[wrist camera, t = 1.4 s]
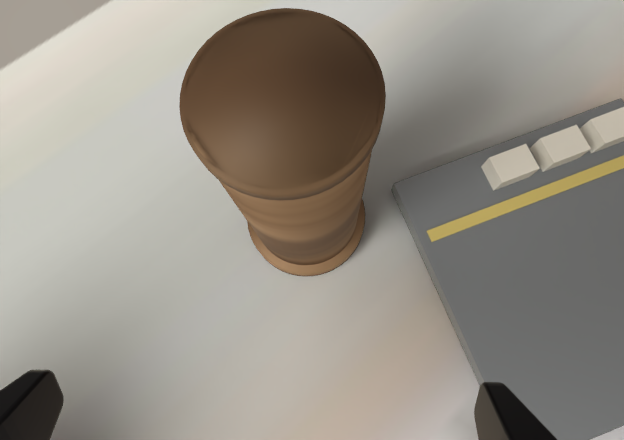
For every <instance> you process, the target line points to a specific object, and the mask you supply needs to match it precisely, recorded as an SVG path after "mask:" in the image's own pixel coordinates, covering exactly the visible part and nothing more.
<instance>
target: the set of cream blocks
mask: <svg viewBox="0 0 624 440" xmlns="http://www.w3.org/2000/svg"><path fill="white" fill-rule="evenodd" d="M623 141H624V107H622V108H619V109H617V110H614V111H611V112H609V113H606V114H603V115H601V116H598V117H595V118H593V119H590V120H589V121H588V122H587V123H586V124H584V125H583V126H582V127H581V128H580V129H579V128H578V126H577V125H574V126H571V127H569V128H566V129H563V130H561V131H558V132H556V133H553V134H550V135H548V136H545V137H542V138H540V139H539V140H538V141H537V142H536V143H535V144H534V145H533V146H532V147H531V148H530V150H531V152H532V153H531V152H530V150H529V148H528V146H527V144H524V145H521V146H518V147H516V148H513V149H510V150H508V151H505V152H502V153H500V154H497V155H495V156H492V157H489V158H488V159H487V160H486V162H485V163H484V164H483V165H482V166H481V168H482V170H483V172H484V174H485V175H486V177H487V179H488V181H489V183H490V185H491V187H492V189H493V191H494V190H497V189H500V188H502V187H505V186H507V185H510V184H513V183H515V182H518V181H521V180H523V179H526V178H528V177H530V176H531V175H533V174H534V173H535V172H536V171H537V170H539V169H540V168H541V170H542V172H544V171H547V170H549V169H552V168H555V167H557V166H560V165H562V164H565V163H568V162H570V161H573V160H576V159H578V158H580V157H581V156H582V155H584V154H585V153H586V152H588V151H590V152H591V153H594V152H597V151H599V150H602V149H604V148H607V147H610V146H612V145H615V144H618V143H620V142H623ZM532 154H533V155H532ZM533 156H534V157H535V159H536V161H537V162H536V161H535V159H534V157H533ZM537 163H538V164H537ZM538 165H539V166H540V168H539V166H538Z"/></svg>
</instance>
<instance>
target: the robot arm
mask: <svg viewBox="0 0 624 440" xmlns="http://www.w3.org/2000/svg"><path fill="white" fill-rule="evenodd" d="M62 406H63V394H62V391H61V389H60V387H59V384H58V382H57V380H56V377H55V375H54V373H53V372H52V371H50V370H30V371H28V372H27V373H25V374H24V375H22V376H21V377H19V378H18V379H16V380H15V381H14V382H12V383H11V384H9V385H8V386H6V387H5V388H3V389H2V390H1V391H0V440H50V438H51V435H52V432H53V430H54V427H55V425H56V422H57V419H58V417H59V414H60V412H61V409H62ZM474 415H475V422H476V428H477V433H478V438H479V440H557V439H556V437H555V436H554V435H553V434H552V433H551V432H550V431H549V430H548V429H547V428H546V427H545V426H544V425H543V424H542V423H541V422H540V421H539V420H538V419H537V417H536V416H535V415H534V414H533V413H532V412H531V411H530V410H529V409H528V408H527V407H526V406H525V405H524V404H523V403H522V402H521V401H520V400H519V399H518V398H517V396H516V395H515V394H514V393H513V392H512V391H511V390H510V389H509V388H508V387H507V386H506V385H505V384H503V383H501V382H483V383H482V384H481V386H480V389H479V393H478V397H477V401H476V405H475V411H474Z"/></svg>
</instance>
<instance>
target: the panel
mask: <svg viewBox="0 0 624 440" xmlns="http://www.w3.org/2000/svg"><path fill="white" fill-rule="evenodd" d="M622 107H624V102H623V101H622V99H621V98H620V99H618V100H615V101H612V102H610V103H607V104H604V105H602V106H599V107H596V108H594V109H591V110H588V111H586V112H583V113H580V114H578V115H575V116H572V117H570V118H567V119H564V120H562V121H559V122H556V123H554V124H551V125H548V126H546V127H543V128H540V129H538V130H535V131H532V132H530V133H527V134H525V135H522V136H519V137H517V138H514V139H511V140H509V141H506V142H503V143H501V144H498V145H495V146H493V147H490V148H487V149H485V150H482V151H479V152H477V153H474V154H471V155H469V156H466V157H463V158H461V159H458V160H455V161H453V162H450V163H447V164H445V165H442V166H439V167H437V168H434V169H431V170H429V171H426V172H423V173H421V174H418V175H415V176H413V177H410V178H407V179H405V180H402V181H399V182H397V183H394V185H393V187H392V192H393V195H394V197H395V199H396V201H397V203H398V206H399V208H400V210H401V212H402V214H403V217H404V219H405V221H406V223H407V225H408V228H409V230H410V232H411V234H412V236H413V239H414V241H415V243H416V245H417V248H418V250H419V252H420V254H421V256H422V259H423V261H424V263H425V265H426V267H427V270H428V272H429V274H430V276H431V278H432V281H433V283H434V285H435V287H436V290H437V292H438V294H439V296H440V298H441V301H442V303H443V305H444V307H445V309H446V312H447V314H448V316H449V318H450V320H451V323H452V325H453V327H454V329H455V331H456V334H457V336H458V338H459V340H460V343H461V345H462V347H463V349H464V351H465V354H466V356H467V358H468V360H469V362H470V365H471V367H472V369H473V371H474V373H475V376H476V378H477V380H478V382H479V384H480V386H481V384H482V383H483V382H501V383H503V384H505V385H506V386H507V387H508V388H509V389H510V390H511V391H512V392H513V393H514V394H515V395H516V396H517V398H518V399H519V400H520V401H521V402H522V403H523V404H524V405H525V406H526V407H527V408H528V409H529V410H530V411H531V412H532V413H533V414H534V415H535V416H536V417H537V419H538V420H539V421H540V422H541V423H542V424H543V425H544V426H545V427H546V428H547V429H548V430H549V431H550V432H551V433H552V434H553V435H554V436H555V437H556V439H557V440H590V439H592V438H595V437H597V436H600V435H602V434H604V433H607V432H609V431H611V430H614V429H616V428H619V427H621V426H623V425H624V141H623V142H620V143H618V144H615V145H612V146H610V147H607V148H604V149H602V150H599V151H597V152H594V153H591V152H590V151H588V152H586V153H585V154H584V155H582V156H581V157H580V158H578V159H576V160H573V161H570V162H568V163H565V164H562V165H560V166H557V167H555V168H552V169H549V170H547V171H544V172H542V170H541V168H540V166H539V165H538V166H539V168H540V169H539V170H537V171H536V172H535V173H534V174H533V175H531V176H530V177H528V178H526V179H523V180H521V181H518V182H515V183H513V184H510V185H507V186H505V187H502V188H500V189H497V190H494V191H493V189H492V187H491V185H490V183H489V181H488V179H487V177H486V175H485V174H484V172H483V170H482V168H481V166H482V165H483V164H484V163H485V162H486V160H487V159H488V158H489V157H492V156H495V155H497V154H500V153H502V152H505V151H508V150H510V149H513V148H516V147H518V146H521V145H524V144H527V146H528V148H529V150H530V148H531V147H532V146H533V145H534V144H535V143H536V142H537V141H538V140H539V139H540V138H542V137H545V136H548V135H550V134H553V133H556V132H558V131H561V130H563V129H566V128H569V127H571V126H574V125H577V126H578V128H579V129H580V128H581V127H582V126H583V125H584V124H586V123H587V122H588V121H589V120H590V119H593V118H595V117H598V116H601V115H603V114H606V113H609V112H611V111H614V110H617V109H619V108H622ZM530 152H531V150H530ZM531 153H532V152H531ZM532 155H533V154H532ZM533 157H534V156H533ZM534 159H535V157H534ZM535 161H536V159H535ZM536 162H537V161H536ZM537 164H538V163H537Z"/></svg>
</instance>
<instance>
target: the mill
mask: <svg viewBox="0 0 624 440" xmlns="http://www.w3.org/2000/svg"><path fill="white" fill-rule="evenodd" d="M385 97H386V95H385V83H384V79H383V75H382V71H381V69H380V66H379V64H378V61H377V59H376V58H375V56H374V54H373V52H372V51H371V49H370V48H369V47H368V46H367V44H366V43H365V42H364V41H363V40H362V39H361V38H360V37H359V36H358V35H357V34H356V33H355V32H354V31H353V30H351V29H350V28H349V27H347V26H346V25H344V24H342V23H341V22H339V21H337V20H335V19H333V18H331V17H329V16H326V15H324V14H320V13H317V12H313V11H309V10H303V9H291V8H282V9H271V10H265V11H260V12H257V13H253V14H250V15H247V16H244V17H242V18H240V19H237V20H235V21H234V22H232V23H230V24H228V25H226V26H225V27H223V28H222V29H221V30H219V31H218V32H216V33H215V34H214V35H213V36H212V37H211V38H210V39H208V40H207V41H206V42H205V44H204V45H203V46H202V47H201V48H200V49H199V51H198V52H197V54H196V55H195V56H194V58H193V59H192V61H191V63H190V65H189V67H188V69H187V71H186V74H185V77H184V80H183V83H182V88H181V93H180V116H181V121H182V125H183V129H184V132H185V135H186V137H187V139H188V142H189V143H190V145H191V147H192V148H193V150H194V152H195V153H196V155H197V156H198V157H199V159H200V160H201V162H202V163H203V164H204V165H205V166H206V168H207V169H208V170H209V171H210V172H211V173H212V174H213V175H214V176H215V177H216V178H217V179H219V181H220V182H221V184H222V185H223V187H224V188H225V189H226V191H227V192H228V194H229V195H230V197H231V198H232V199H233V201H234V202H235V204H236V205H237V207H238V208H239V210H240V211H241V212H242V214H243V215H244V217H245V218H246V220H247V222H248V229H249V232H250V236H251V238H252V241H253V243H254V244H255V246H256V248H257V249H258V251H259V252H260V253H261V254H262V256H263V257H264V258H265V259H266V260H267V261H268V262H269V263H270V264H272V265H273V266H274V267H276V268H278V269H279V270H281V271H283V272H286V273H289V274H292V275H297V276H315V275H321V274H324V273H327V272H329V271H332V270H334V269H335V268H337V267H339V266H340V265H342V264H343V263H344V262H345V261H346V260H347V259H348V258H349V257H350V256H351V255H352V254H353V252H354V251H355V249H356V248H357V246H358V244H359V241H360V239H361V236H362V233H363V228H364V224H365V208H364V203H363V200H362V195H363V190H364V185H365V180H366V176H367V171H368V166H369V162H370V157H371V152H372V148H373V146H374V144H375V143H376V140H377V137H378V135H379V132H380V128H381V124H382V119H383V114H384V110H385Z"/></svg>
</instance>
